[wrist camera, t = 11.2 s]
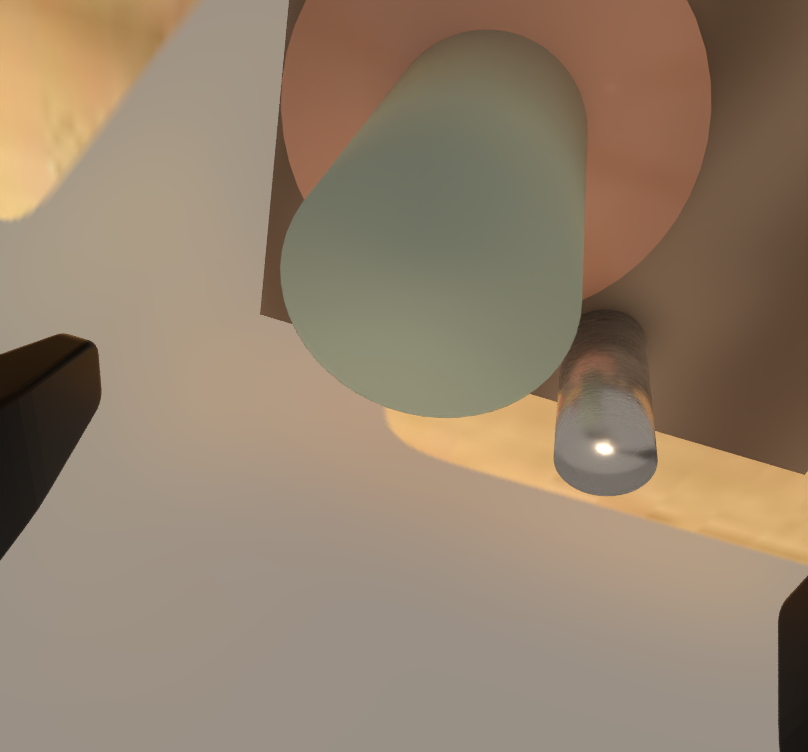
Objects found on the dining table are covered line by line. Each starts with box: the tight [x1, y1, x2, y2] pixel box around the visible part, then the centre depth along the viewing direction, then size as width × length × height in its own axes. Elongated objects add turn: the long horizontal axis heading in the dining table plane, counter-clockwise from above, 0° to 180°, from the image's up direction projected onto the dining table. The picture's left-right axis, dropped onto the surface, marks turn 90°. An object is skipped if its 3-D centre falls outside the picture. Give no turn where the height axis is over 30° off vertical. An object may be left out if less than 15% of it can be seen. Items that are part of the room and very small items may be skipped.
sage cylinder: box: [280, 30, 587, 418], centre depth 15 cm, size 5×5×8 cm
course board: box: [260, 0, 808, 475], centre depth 18 cm, size 18×15×1 cm
